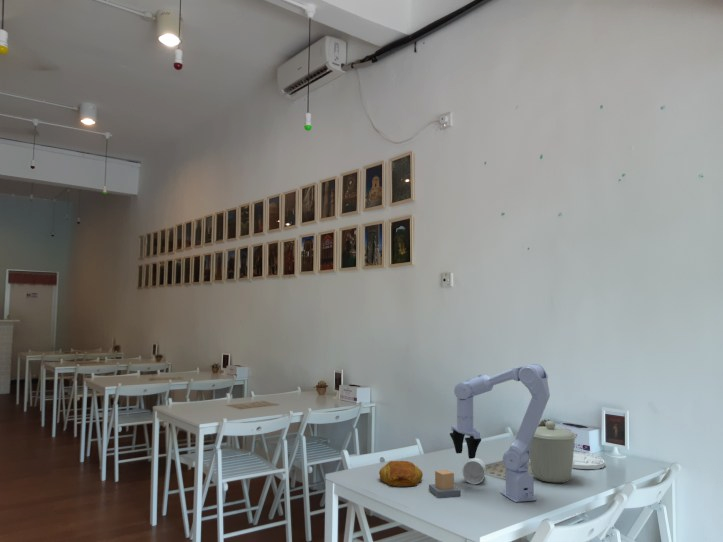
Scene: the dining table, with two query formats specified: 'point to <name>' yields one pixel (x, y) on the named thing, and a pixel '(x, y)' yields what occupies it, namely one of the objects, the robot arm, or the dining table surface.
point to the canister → (552, 453)
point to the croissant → (400, 473)
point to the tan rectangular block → (444, 479)
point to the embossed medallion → (587, 461)
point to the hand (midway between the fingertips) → (465, 455)
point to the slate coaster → (444, 491)
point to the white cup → (474, 471)
